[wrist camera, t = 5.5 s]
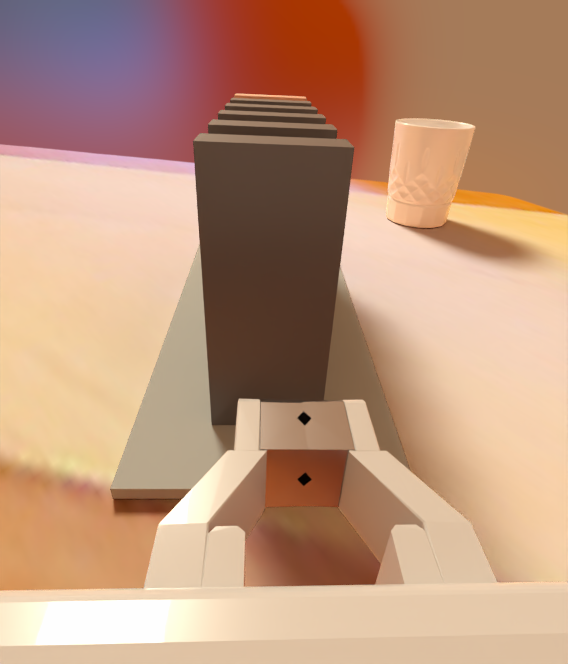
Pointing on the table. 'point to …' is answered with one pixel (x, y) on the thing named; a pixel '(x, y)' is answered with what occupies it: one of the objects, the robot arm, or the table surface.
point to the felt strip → (194, 401)
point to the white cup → (426, 170)
